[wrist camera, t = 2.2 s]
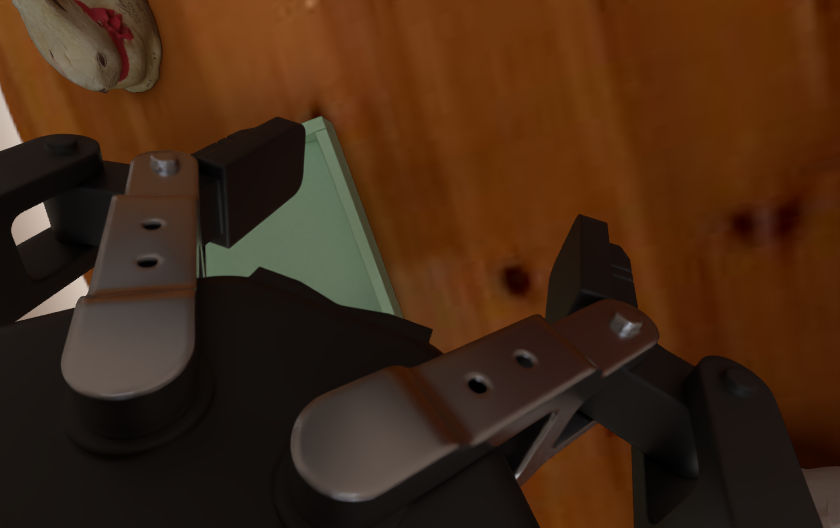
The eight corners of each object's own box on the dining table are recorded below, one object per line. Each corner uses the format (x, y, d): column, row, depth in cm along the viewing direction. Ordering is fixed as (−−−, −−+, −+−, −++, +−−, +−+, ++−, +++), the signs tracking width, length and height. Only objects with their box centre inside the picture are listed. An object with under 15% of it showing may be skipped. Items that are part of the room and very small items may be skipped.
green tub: (145, 191, 33) (114, 192, 30) (332, 122, 32) (321, 115, 29) (234, 393, 36) (215, 414, 33) (410, 335, 35) (408, 351, 32)
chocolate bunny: (81, 87, 32) (-70, 44, 22) (98, -31, 31) (-54, -132, 21) (158, 109, 32) (42, 76, 23) (179, -7, 31) (65, -96, 21)
